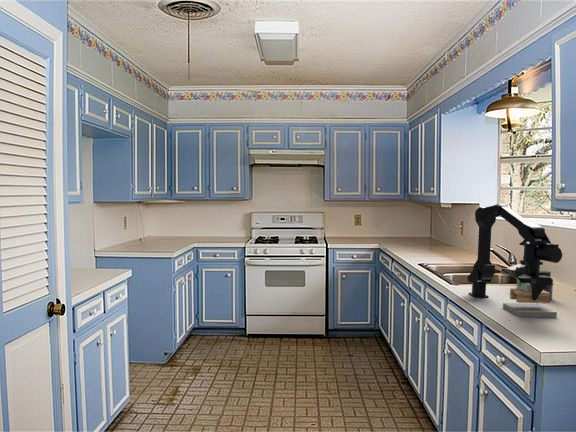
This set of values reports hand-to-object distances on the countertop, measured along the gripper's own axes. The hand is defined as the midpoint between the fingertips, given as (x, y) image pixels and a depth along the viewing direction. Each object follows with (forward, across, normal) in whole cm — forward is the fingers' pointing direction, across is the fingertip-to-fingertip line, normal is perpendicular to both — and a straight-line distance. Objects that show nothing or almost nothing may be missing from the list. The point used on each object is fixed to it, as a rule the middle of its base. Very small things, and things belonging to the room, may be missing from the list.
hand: (529, 298), depth 165 cm
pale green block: (-3, 0, 0) cm, 3 cm away
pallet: (+1, 0, 0) cm, 1 cm away
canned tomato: (+6, -33, +18) cm, 38 cm away
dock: (+6, 0, 0) cm, 6 cm away
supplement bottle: (+6, -23, +20) cm, 31 cm away
